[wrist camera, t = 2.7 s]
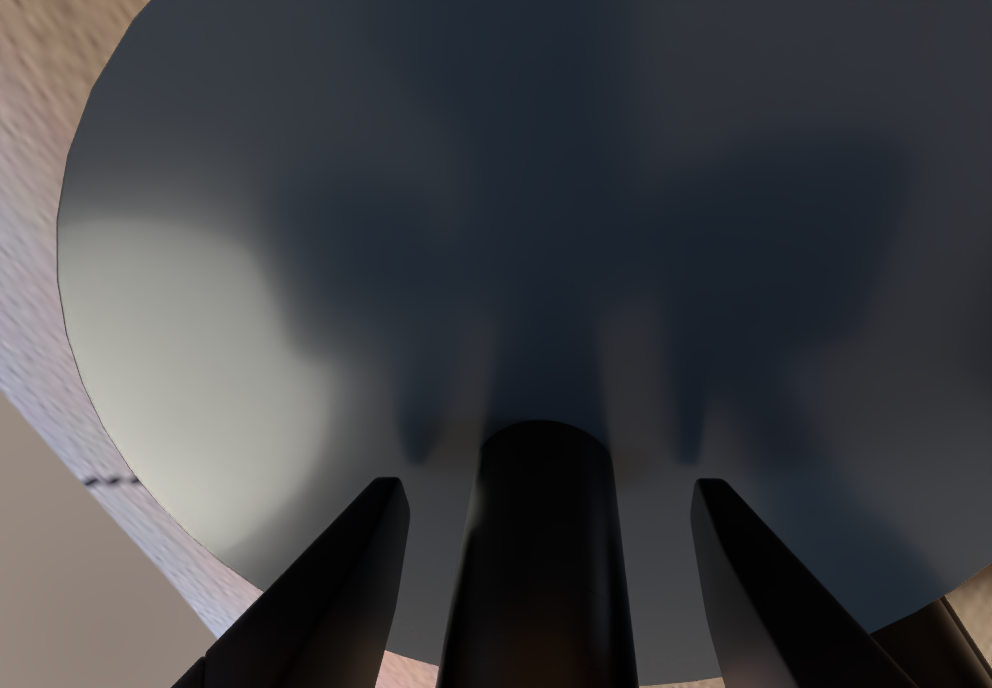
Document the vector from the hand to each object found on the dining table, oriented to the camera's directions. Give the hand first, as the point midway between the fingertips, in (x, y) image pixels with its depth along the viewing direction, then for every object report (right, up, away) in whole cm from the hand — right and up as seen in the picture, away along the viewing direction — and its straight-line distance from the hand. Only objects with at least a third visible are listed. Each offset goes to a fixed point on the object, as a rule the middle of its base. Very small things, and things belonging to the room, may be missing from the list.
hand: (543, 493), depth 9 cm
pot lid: (0, +1, +1) cm, 1 cm away
